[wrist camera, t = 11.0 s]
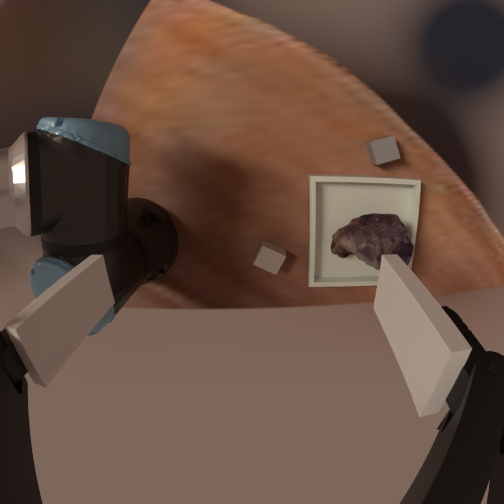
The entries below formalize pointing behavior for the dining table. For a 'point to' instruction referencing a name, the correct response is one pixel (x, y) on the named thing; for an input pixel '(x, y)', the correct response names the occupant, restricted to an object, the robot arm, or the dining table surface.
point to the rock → (373, 239)
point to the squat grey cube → (382, 149)
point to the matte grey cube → (270, 257)
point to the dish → (343, 211)
